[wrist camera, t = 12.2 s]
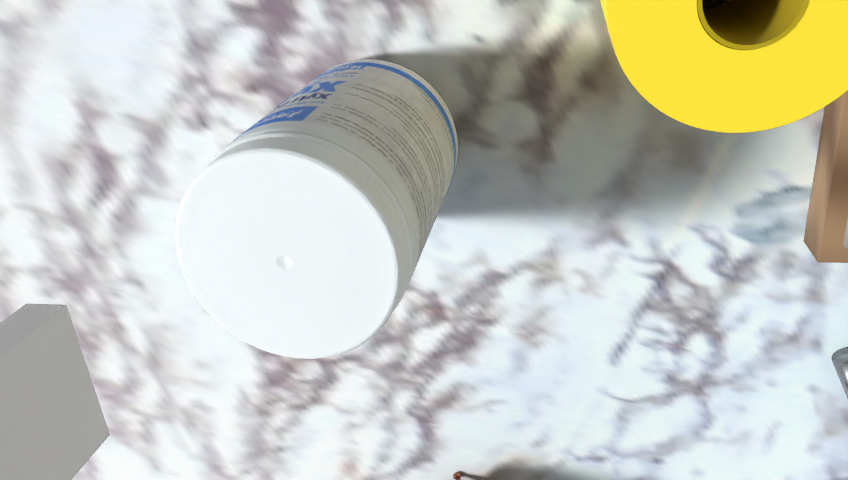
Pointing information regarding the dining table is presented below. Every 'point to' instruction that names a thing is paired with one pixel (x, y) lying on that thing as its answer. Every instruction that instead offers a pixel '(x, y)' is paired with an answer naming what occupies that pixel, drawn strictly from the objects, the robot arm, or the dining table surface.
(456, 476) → the alarm clock
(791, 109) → the yellow toilet paper roll
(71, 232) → the dining table surface
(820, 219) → the stand
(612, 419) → the dining table surface
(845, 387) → the loose bolt
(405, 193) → the supplement tub
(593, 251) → the dining table surface
